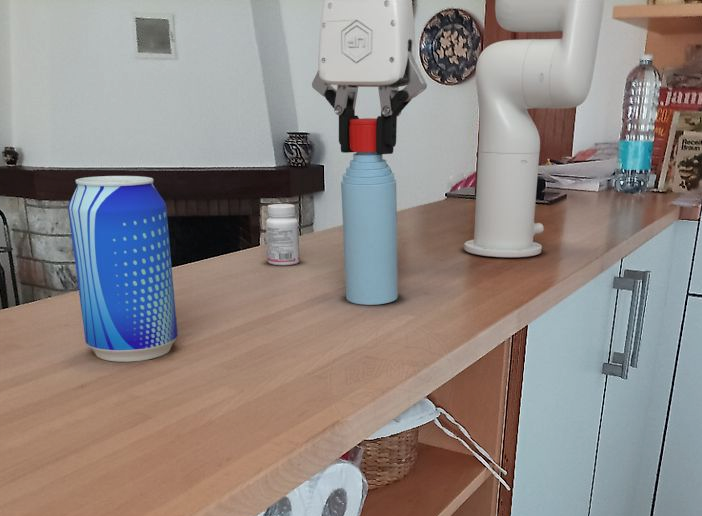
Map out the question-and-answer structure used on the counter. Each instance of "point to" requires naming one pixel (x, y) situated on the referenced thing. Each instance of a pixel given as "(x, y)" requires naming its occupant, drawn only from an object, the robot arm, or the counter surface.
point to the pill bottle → (282, 235)
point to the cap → (363, 135)
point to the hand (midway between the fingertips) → (367, 151)
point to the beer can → (123, 267)
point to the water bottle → (370, 230)
